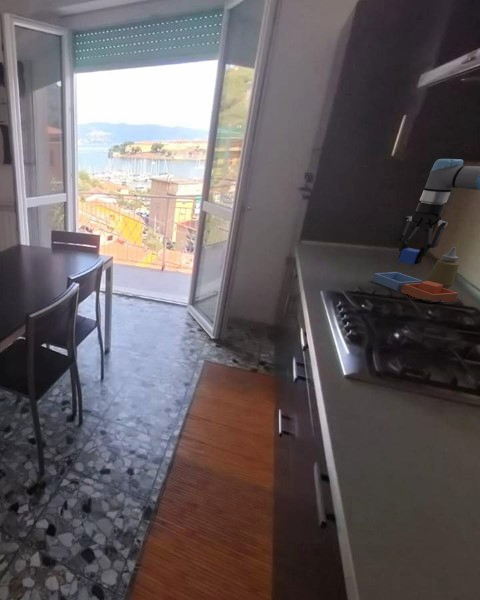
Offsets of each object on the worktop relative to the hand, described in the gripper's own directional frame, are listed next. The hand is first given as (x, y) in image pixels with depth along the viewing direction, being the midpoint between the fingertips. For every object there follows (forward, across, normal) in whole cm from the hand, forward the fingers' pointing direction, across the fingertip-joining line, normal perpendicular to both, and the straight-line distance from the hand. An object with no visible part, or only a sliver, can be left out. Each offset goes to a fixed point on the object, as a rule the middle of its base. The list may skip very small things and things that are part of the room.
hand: (408, 261), depth 144 cm
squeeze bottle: (+12, -7, -13) cm, 19 cm away
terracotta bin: (+12, -10, 0) cm, 15 cm away
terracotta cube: (+11, -10, 0) cm, 15 cm away
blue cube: (0, 0, 0) cm, 0 cm away
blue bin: (+12, +3, -4) cm, 13 cm away
